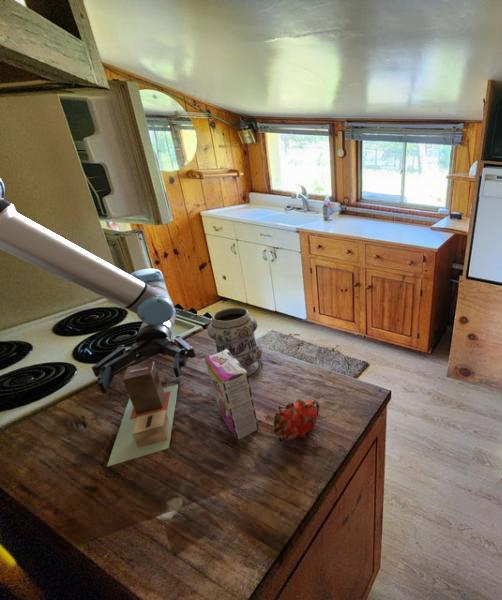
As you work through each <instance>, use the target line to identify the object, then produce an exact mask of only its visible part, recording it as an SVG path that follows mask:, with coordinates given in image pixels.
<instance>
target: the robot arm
mask: <svg viewBox="0 0 502 600" xmlns="http://www.w3.org/2000/svg"><path fill="white" fill-rule="evenodd" d="M5 195H6V188H5V184H4V182H3V180H2V177H0V250H1V251H3V252H6V253H7V254H10V255H12V256H14V257H16V258H18V259H20V260H23V261H25V262H27V263H29V264H32V266H35V267H37V268H39V269H42V270H44V271H45V272H48V273H50V274H52V275H54V276H56V277H59V278H60V279H63V280H64V281H67V282H68V283H70V284H73V285H75V286H77V287H80V288H82V289H84V290H86V291H88V292H89V293H92V294H93V295H96V296H98V297H101V298H103V299H105V300H107V301H109V302H111V303H113V304H115V305H117V306H120V307H122V308H124V309H126V310H128V311H130V312H132V313H134V314H136V315H137V317H138V318H139V320H140V321H141V322H142V323H141V325H140V328H139V329H138V333H137V335H136V338H135V341H134V343H133V344H132V345H131V346H125V345H124V344H120V345H118V346H117V348H116V349H115V350H113V351H112V352H111V353H109V354H108V355H106V356H105V357H104V358H102V359H101V360H100V361H98V362H97V363H95V364H94V365H93V366H91V370H92V372H93V375H94V377H95V378H97V380H98V382H97V385H98V388H99V390H100V392H101V394H102V395H103V394H107V393H108V391H109V388H110V386H111V383H112V381H113V379H114V377H115V373H116V372H118V371H119V370H122V369H123V368H124V367H127V366H128V365H130V364H131V363H133V362H138V361H140V360H141V359H143V358H146V357H151V356H158V355H162V356H169V357H171V358H173V359H174V361H173V366H172V370H173V373H174V376H175V378H180V377H181V371H182V367H185V366H186V365H187V360H188V359H189V358H190V359H194V358H195V357H196V352H195V347H193V346H192V345H190V344H189V343H188V342H187V341H185V340H184V339H183V338H182V335H180V334H179V335H176V336H175V338H173V339H172V335H173V330H174V327H175V323H176V319H177V311H176V308H175V307H174V302H173V300H172V299H171V296H170V293H169V291H168V288H167V285H166V281H165V278H164V275H163V272H162V271H161V270H160V269H157V268H142V269H138V270H135V271H133V272H131V273H128V272H127V271H124V270H123V269H121V268H118V267H117V266H115V265H113V264H111V263H110V262H108V261H106V260H104V259H102V258H100V257H99V256H96V255H95V254H94V253H91V252H89V251H88V250H86V249H84V248H82V247H80V246H78V245H77V244H75V243H73V242H71V241H69V240H68V239H65V238H64V237H62V236H60V235H59V234H57V233H55V232H53V231H52V230H50V229H47V228H46V227H44V226H42V225H41V224H38V223H36V222H35V221H33V220H31V219H30V218H27V217H26V216H24V215H22V214H20V213H19V212H18V211H17V209H16V207H15V205H14V204H13V203H12V202H10V201H8V200H6V199H5V198H4V197H5Z"/></svg>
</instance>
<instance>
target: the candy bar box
mask: <svg viewBox="0 0 502 600" xmlns="http://www.w3.org/2000/svg"><path fill="white" fill-rule="evenodd" d="M204 362H205V364H206V368H207V372H208V376H209V379H210V383H211V386H212V390H213V394H214V396H215V401H216V405H217V408H218V413H219V415H220V416H221V418H222V419H223V421H224V422H225V424H226V426H227V427H228V429H229V430H230V431H231V433H232V434H233V436H234V438H235V439H236V440H237V441H239V440H241V439H243V438H244V437H247V436H248V435H250V434H252V433H254V432H256V431H258V430H259V424H258V417H257V413H256V409H255V405H254V399H253V394H252V390H251V385H250V381H249V378H248V374H247V371H246V370H245V369H244V368H243V367H242V366H241V364H240V363H239V362H238V361H237V360H236V359H235V357H234V356H233V355H232V354H231V353H230V352H229V351H228V350H227V349H226V350H223V351H221V352H217V353H215V352H214V353H213V354H208V355H206V356H205V357H204Z"/></svg>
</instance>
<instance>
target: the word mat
mask: <svg viewBox="0 0 502 600" xmlns="http://www.w3.org/2000/svg"><path fill="white" fill-rule="evenodd" d="M162 387H163V390H164V393H165V398H164V404H163V408H160V409H156V410H153V411H149V412H145V413H141V414H136V412H135V409H134V407H133V404H132V402H131V399H130V397H129V398H128V401H127V404H126V407H125V410H124V413H123V417H122V420H121V422H120V426H119V429H118V432H117V435H116V438H115V440H114V444H113V447H112V450H111V453H110V456H109V459H108V462H107V465H106V467H107V468H108V467H110V466H114V465H117V464H121V463H123V462H128V461H131V460H134V459H137V458H141V457H144V456H147V455H150V454H151V455H152V454H154V453H158V452H160V451H161V452H162V451H164V450H167V449H170V443H171V437H172V431H173V424H174V417H175V409H176V403H177V396H178V395H177V394H178V391H179V390H178V388H179V383H177V384H172V385H168V386H162ZM163 410H165V411H166V414H167V416H168V419H169V422H170V426H169V432H168V439H167V440H165V441H161V442H158V443H154V444H151V445H147V446H144V447H140V448H138V446H137V444H136V441H135V439H134V437H133V434H132V433H133V430H134V426H135V423H136V419H137V417H139V416H143V415H147V414H151V413H155V412H159V411H163Z"/></svg>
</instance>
